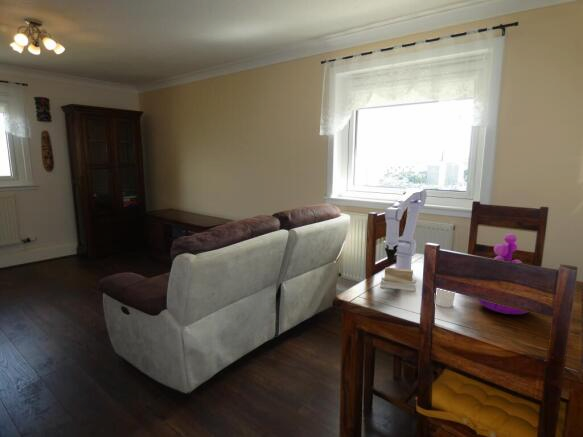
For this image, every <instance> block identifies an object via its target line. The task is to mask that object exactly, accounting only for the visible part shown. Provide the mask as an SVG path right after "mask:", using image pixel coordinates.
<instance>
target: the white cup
mask: <svg viewBox="0 0 583 437" xmlns="http://www.w3.org/2000/svg"><path fill="white" fill-rule="evenodd" d="M455 296H456V292H455V293H452V292H448V291H444V290H440V289H437V295H436V304H435V305H436V306H438V307H442V308H452V307H453V306H454V300H455Z"/></svg>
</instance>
